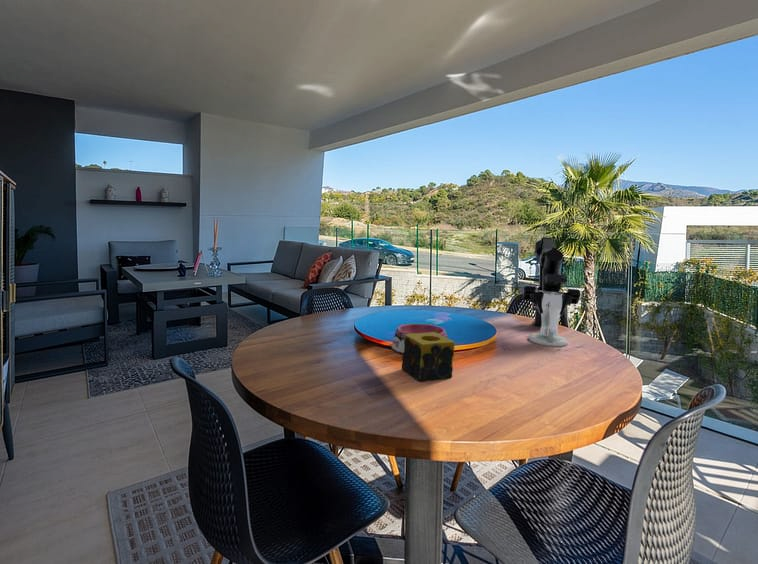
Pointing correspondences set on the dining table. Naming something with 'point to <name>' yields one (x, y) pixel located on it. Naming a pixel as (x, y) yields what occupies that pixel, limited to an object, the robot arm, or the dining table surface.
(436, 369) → the candle
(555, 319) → the beer glass
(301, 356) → the dining table surface
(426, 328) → the dog bowl
